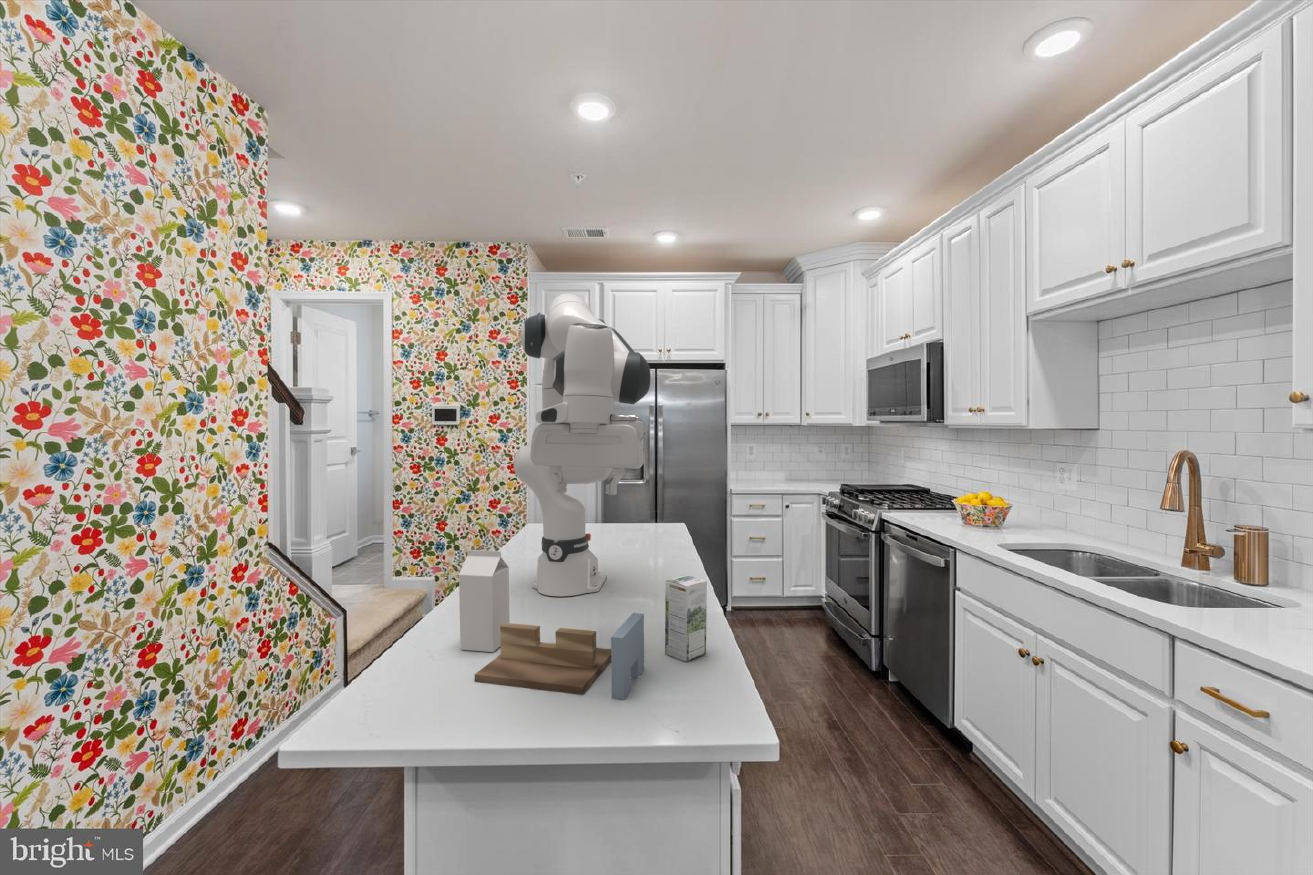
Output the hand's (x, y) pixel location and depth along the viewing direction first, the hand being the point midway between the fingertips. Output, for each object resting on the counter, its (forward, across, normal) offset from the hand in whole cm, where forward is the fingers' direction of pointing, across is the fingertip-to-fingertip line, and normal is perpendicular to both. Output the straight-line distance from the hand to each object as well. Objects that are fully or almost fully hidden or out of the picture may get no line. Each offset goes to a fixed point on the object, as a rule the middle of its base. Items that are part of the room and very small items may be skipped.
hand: (585, 493), depth 101 cm
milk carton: (+32, +25, -10) cm, 42 cm away
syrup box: (+31, -15, -16) cm, 38 cm away
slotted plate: (+32, -8, -1) cm, 33 cm away
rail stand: (+32, +8, -3) cm, 33 cm away
